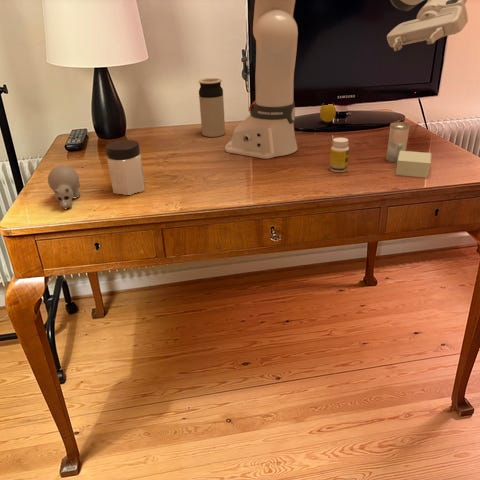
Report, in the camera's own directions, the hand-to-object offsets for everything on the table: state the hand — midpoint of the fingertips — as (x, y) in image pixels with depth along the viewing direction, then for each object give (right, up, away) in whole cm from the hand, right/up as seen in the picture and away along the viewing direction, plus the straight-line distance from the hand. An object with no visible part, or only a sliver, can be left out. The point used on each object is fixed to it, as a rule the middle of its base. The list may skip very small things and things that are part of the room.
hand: (412, 44), depth 122 cm
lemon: (-14, -10, +44) cm, 47 cm away
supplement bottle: (-18, -32, +5) cm, 38 cm away
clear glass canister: (-1, -29, +10) cm, 30 cm away
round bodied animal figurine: (-88, -42, -7) cm, 98 cm away
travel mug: (-55, -15, +38) cm, 68 cm away
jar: (-74, -39, -2) cm, 84 cm away
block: (+1, -33, +2) cm, 33 cm away
